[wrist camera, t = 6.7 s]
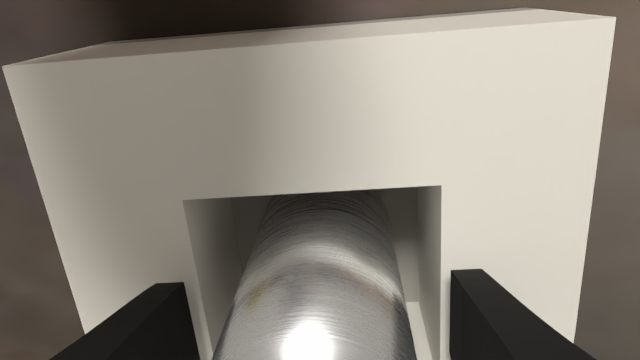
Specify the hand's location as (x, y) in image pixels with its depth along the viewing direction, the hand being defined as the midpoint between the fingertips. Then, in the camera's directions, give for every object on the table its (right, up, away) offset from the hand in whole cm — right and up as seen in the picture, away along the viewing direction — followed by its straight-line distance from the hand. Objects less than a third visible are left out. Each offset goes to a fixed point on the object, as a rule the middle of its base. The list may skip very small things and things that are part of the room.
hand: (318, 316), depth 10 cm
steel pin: (0, +1, +4) cm, 4 cm away
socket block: (0, +2, +5) cm, 5 cm away
